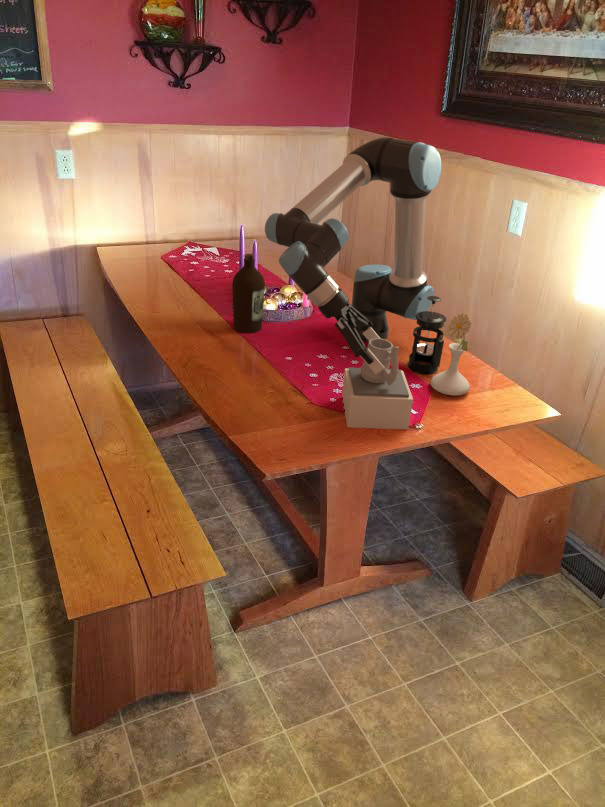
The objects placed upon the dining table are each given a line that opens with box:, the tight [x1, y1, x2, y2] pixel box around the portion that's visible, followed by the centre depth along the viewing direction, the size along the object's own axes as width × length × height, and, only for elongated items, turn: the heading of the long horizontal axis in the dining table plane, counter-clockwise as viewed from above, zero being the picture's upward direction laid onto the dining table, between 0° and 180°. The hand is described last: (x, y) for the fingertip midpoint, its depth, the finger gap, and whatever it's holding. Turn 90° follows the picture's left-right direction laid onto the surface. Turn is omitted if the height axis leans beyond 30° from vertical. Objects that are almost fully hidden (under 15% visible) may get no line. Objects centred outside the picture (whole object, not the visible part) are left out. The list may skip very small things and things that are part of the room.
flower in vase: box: [429, 312, 472, 396], centre depth 188 cm, size 13×11×25 cm
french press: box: [407, 295, 447, 376], centre depth 200 cm, size 12×9×23 cm
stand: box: [341, 366, 414, 430], centre depth 178 cm, size 16×16×10 cm
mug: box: [360, 338, 400, 385], centre depth 172 cm, size 8×12×12 cm, turn 32°
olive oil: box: [231, 253, 266, 334], centre depth 218 cm, size 11×11×25 cm
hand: (381, 359), depth 172 cm, fingers open, 13 cm apart
